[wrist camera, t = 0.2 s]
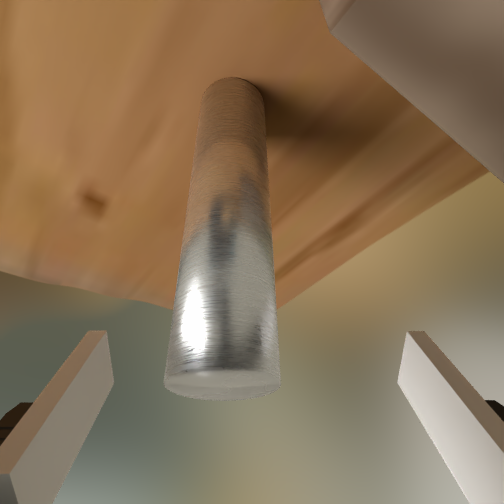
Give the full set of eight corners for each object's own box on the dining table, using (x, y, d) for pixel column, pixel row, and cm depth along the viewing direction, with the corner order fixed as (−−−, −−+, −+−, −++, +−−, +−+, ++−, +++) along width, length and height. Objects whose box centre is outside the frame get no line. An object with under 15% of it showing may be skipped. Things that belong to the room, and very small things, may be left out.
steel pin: (197, 77, 21) (152, 367, 10) (265, 78, 21) (286, 366, 11) (204, 135, 24) (174, 400, 14) (263, 136, 24) (276, 399, 14)
